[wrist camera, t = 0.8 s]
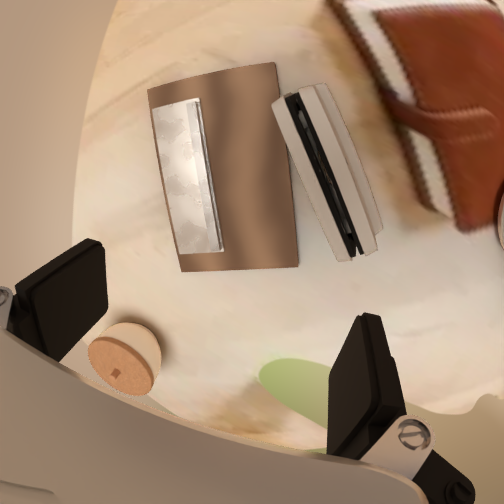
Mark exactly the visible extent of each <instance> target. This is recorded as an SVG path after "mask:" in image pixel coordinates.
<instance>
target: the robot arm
mask: <svg viewBox="0 0 504 504" xmlns="http://www.w3.org/2000/svg"><path fill="white" fill-rule="evenodd" d="M498 233H499V238H500V242H501V245H502V247H503V249H504V193H503V196H502V198H501V203H500V207H499V213H498ZM15 289H16V293H17V294H15V295H14V296H13V293H12V291H11V290H10V289H9V288H7V287H2V286H1V287H0V504H474V501H475V489H474V486H473V484H472V482H471V481H470V480H469V479H468V478H467V477H465V476H464V475H463V474H462V473H460V472H459V471H458V470H457V469H456V468H454V467H453V466H452V465H451V464H450V463H448V462H447V461H446V460H445V459H444V458H442V457H441V456H440V455H439V454H437V453H436V452H435V451H434V450H433V447H434V444H435V434H434V431H433V429H432V428H431V426H430V424H429V423H427V422H426V421H425V420H424V419H422V418H420V417H418V416H415V415H407V413H406V408H405V403H404V398H403V394H402V389H401V385H400V380H399V376H398V372H397V367H396V363H395V360H394V358H393V357H392V356H391V354H390V350H389V346H388V343H387V339H386V335H385V331H384V327H383V324H382V320H381V317H380V316H378V315H374V314H370V313H363V314H362V316H359V315H358V316H357V317H356V318H355V321H354V323H353V325H352V327H351V329H350V332H349V334H348V336H347V338H346V340H345V342H344V345H343V347H342V349H341V351H340V353H339V355H338V357H337V359H336V361H335V363H334V365H333V367H332V369H331V371H330V374H329V391H328V392H329V393H328V394H329V395H328V432H327V454H322V453H316V452H310V451H304V450H299V449H294V448H289V447H284V446H279V445H275V444H270V443H266V442H262V441H258V440H253V439H249V438H245V437H241V436H238V435H234V434H230V433H227V432H223V431H220V430H216V429H213V428H210V427H206V426H203V425H200V424H197V423H194V422H191V421H188V420H185V419H182V418H179V417H177V416H174V415H171V414H168V413H166V412H163V411H160V410H158V409H155V408H153V407H150V406H148V405H145V404H143V403H140V402H138V401H135V400H133V399H131V398H128V397H126V396H124V395H122V394H120V393H117V392H115V391H113V390H111V389H109V388H106V387H105V386H102V385H100V384H98V383H96V382H94V381H92V380H90V379H88V378H86V377H84V376H82V375H81V374H79V373H77V372H75V371H73V370H71V369H69V368H68V367H66V366H64V365H62V364H60V363H59V362H60V361H61V359H62V358H63V357H64V356H65V355H66V354H67V353H68V352H69V351H70V350H71V349H72V348H73V347H74V346H75V344H76V343H77V342H78V341H79V340H80V339H81V338H82V337H83V336H84V335H85V334H86V333H87V332H88V331H89V330H90V329H91V328H92V327H93V326H94V325H95V324H96V323H97V322H98V321H99V320H100V318H101V317H102V316H103V315H104V314H105V313H106V312H107V310H108V295H107V281H106V264H105V249H104V247H102V244H101V242H99V241H96V240H92V239H89V238H87V239H85V240H83V241H82V242H80V243H78V244H77V245H75V246H73V247H72V248H70V249H69V250H67V251H65V252H64V253H63V254H61V255H59V256H58V257H56V258H55V259H53V260H51V261H50V262H49V263H47V264H46V265H44V266H42V267H41V268H39V269H38V270H36V271H35V272H33V273H32V274H30V275H29V276H27V277H26V278H24V279H23V280H21V281H20V282H19V283H17V284H16V285H15Z"/></svg>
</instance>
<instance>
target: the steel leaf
mask: <svg viewBox="0 0 504 504" xmlns="http://www.w3.org/2000/svg"><path fill="white" fill-rule="evenodd" d="M152 112H153V119H154V125H155V132H156V138H157V144H158V150H159V156H160V162H161V167H162V173H163V178H164V184H165V189H166V194H167V199H168V204H169V209H170V214H171V218H172V223H173V228H174V232H175V237H176V241H177V246H178V250H179V254H194V253H210V252H224V251H225V248H224V243H223V237H222V231H221V225H220V220H219V214H218V208H217V202H216V196H215V190H214V184H213V178H212V172H211V166H210V159H209V153H208V147H207V140H206V134H205V127H204V120H203V114H202V107H201V100H200V98H194V99H190V100H185V101H181V102H177V103H173V104H169V105H165V106H162V107H158V108H154V109H152Z"/></svg>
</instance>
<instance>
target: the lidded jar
mask: <svg viewBox="0 0 504 504" xmlns="http://www.w3.org/2000/svg"><path fill="white" fill-rule="evenodd" d="M88 356H89V360H90V362H91V365H92V366H93V368H94V370H95V371H96V372H97V373H98V375H99V376H100V377H101V378H102V379H103V380H104V381H105V382H107V383H108V384H109V385H110V386H112V387H113V388H115V389H117V390H119V391H121V392H123V393H126V394H129V395H134V396H140V395H145V394H147V393H148V392H149V391H150V390H151V388H152V386H153V384H154V381H155V379H156V378H157V375H158V373H159V370H160V366H161V359H162V358H161V350H160V347H159V345H158V341H157V339H156V337H155V335H154V334H153V333H152V332H151V331H150V330H149V329H148V328H146V327H145V326H143V325H141V324H137V323H126V322H125V323H118V324H115V325H112V326H111V327H109V328H107V329H106V330H105V331H103V332H102V333H101V334H100V335H99V336H98V337H97V338H96V339H95V340H94V341H93V342H92V343H91V344H90V345H89V348H88Z"/></svg>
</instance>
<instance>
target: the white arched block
mask: <svg viewBox="0 0 504 504" xmlns="http://www.w3.org/2000/svg"><path fill="white" fill-rule="evenodd" d="M298 91H299V92H298V93H295V94H293V95H292V93H288V94H286V95H283V96H282V97H280V98H279V99H278V100H276V101H275V102H274V103H272V104H271V105H272V109H273V112H274V114H275V117H276V119H277V122H278V125H279V127H280V129H281V132H282V134H283V137H284V139H285V142H286V144H287V147H288V149H289V151H290V154H291V156H292V159H293V161H294V164H295V166H296V168H297V171H298V173H299V175H300V178H301V180H302V183H303V185H304V187H305V190H306V192H307V194H308V197H309V199H310V201H311V204H312V206H313V208H314V211H315V213H316V215H317V217H318V220H319V222H320V224H321V226H322V229H323V231H324V233H325V235H326V238H327V240H328V242H329V244H330V246H331V248H332V250H333V253H334V255H335V257H336V259H337V261H338V262H342V261H352V257H355V256H356V246H357V248H358V251H359V253H360V255H361V254H365V256H367V255H369V254H371V253H373V252H375V251H377V250H378V249H377V243H376V238H375V235H376V234H377V233H378V232H380V231H381V230H382V229H383V225H382V222H381V219H380V216H379V212H378V209H377V206H376V203H375V200H374V197H373V195H372V192H371V189H370V186H369V183H368V180H367V178H366V175H365V172H364V170H363V167H362V164H361V162H360V159H359V157H358V154H357V152H356V149H355V147H354V144H353V142H352V139H351V137H350V135H349V132H348V130H347V128H346V125H345V123H344V121H343V118H342V116H341V114H340V112H339V110H338V107H337V105H336V103H335V101H334V99H333V97H332V95H331V93H330V90H329V88H328V86H327V84H326V83H321V84H316V85H311V86H307V87H302V88H300V89H298ZM318 151H319V153H320V156H321V158H322V160H323V163H324V165H325V168H326V170H327V173H328V175H329V178H330V180H331V183H332V184H331V183H330V182H329V181H328V179H327V176H326V174H325V171H324V169H323V167H322V164H321V162H320V159H319V157H318Z"/></svg>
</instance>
